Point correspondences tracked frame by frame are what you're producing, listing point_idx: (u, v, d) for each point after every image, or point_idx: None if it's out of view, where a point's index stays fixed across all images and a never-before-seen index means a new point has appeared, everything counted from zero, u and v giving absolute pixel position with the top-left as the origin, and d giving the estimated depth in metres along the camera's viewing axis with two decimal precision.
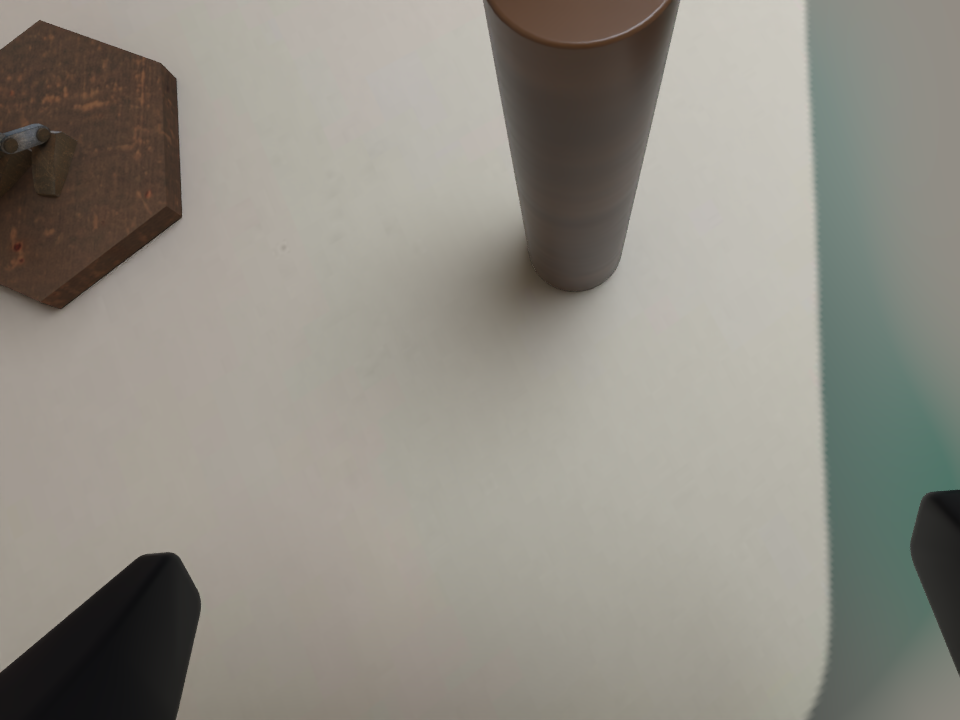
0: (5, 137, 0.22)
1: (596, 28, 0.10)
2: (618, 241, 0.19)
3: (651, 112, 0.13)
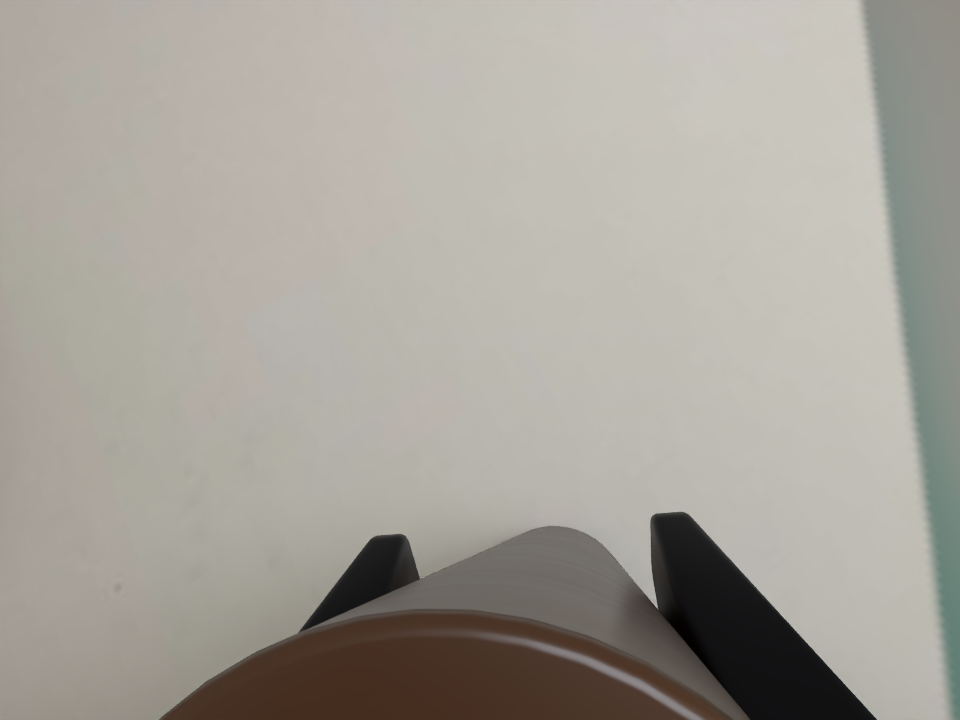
0: None
1: None
2: None
3: None
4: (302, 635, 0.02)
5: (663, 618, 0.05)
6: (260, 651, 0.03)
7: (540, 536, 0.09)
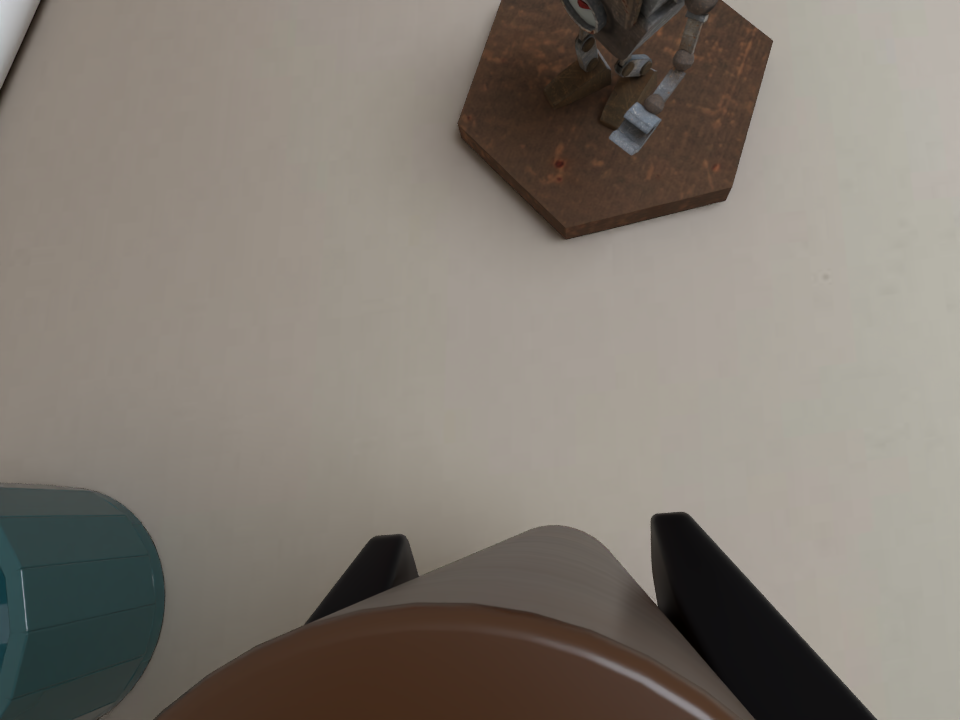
0: (630, 59, 0.21)
1: None
2: None
3: None
4: (302, 628, 0.02)
5: (663, 615, 0.05)
6: (260, 646, 0.03)
7: (540, 534, 0.09)
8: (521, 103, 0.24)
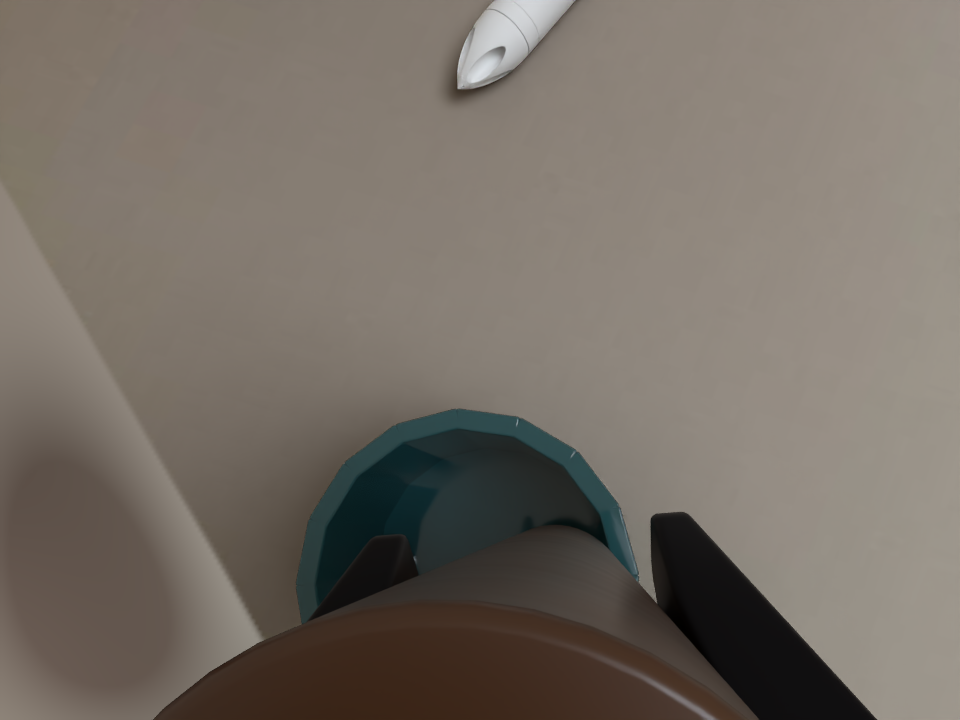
0: None
1: None
2: None
3: None
4: (305, 626, 0.02)
5: (664, 614, 0.05)
6: (263, 643, 0.03)
7: (541, 534, 0.09)
8: None
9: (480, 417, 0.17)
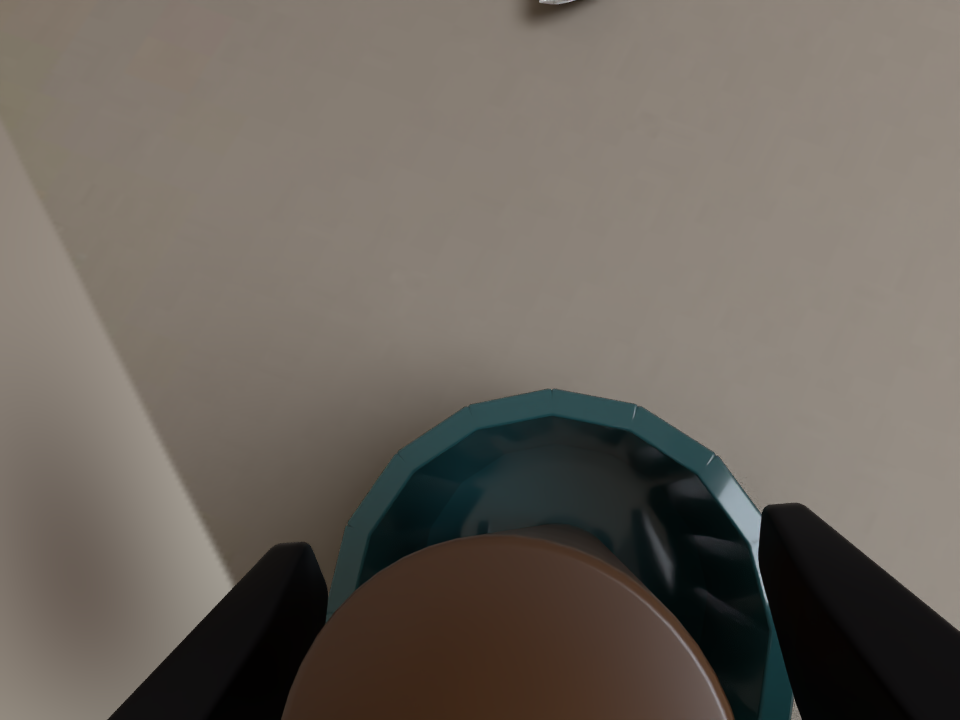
0: None
1: None
2: None
3: None
4: (427, 548, 0.05)
5: None
6: (402, 559, 0.05)
7: None
8: None
9: (584, 402, 0.12)
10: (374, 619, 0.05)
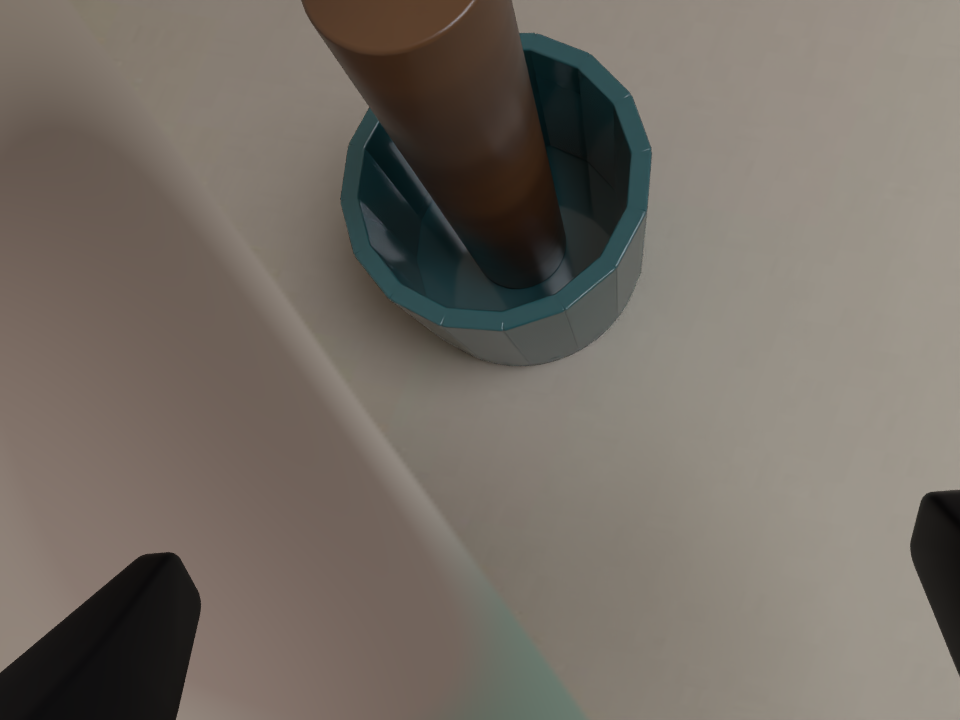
0: None
1: (414, 30, 0.10)
2: (549, 232, 0.19)
3: (522, 101, 0.13)
4: None
5: None
6: None
7: None
8: None
9: None
10: None
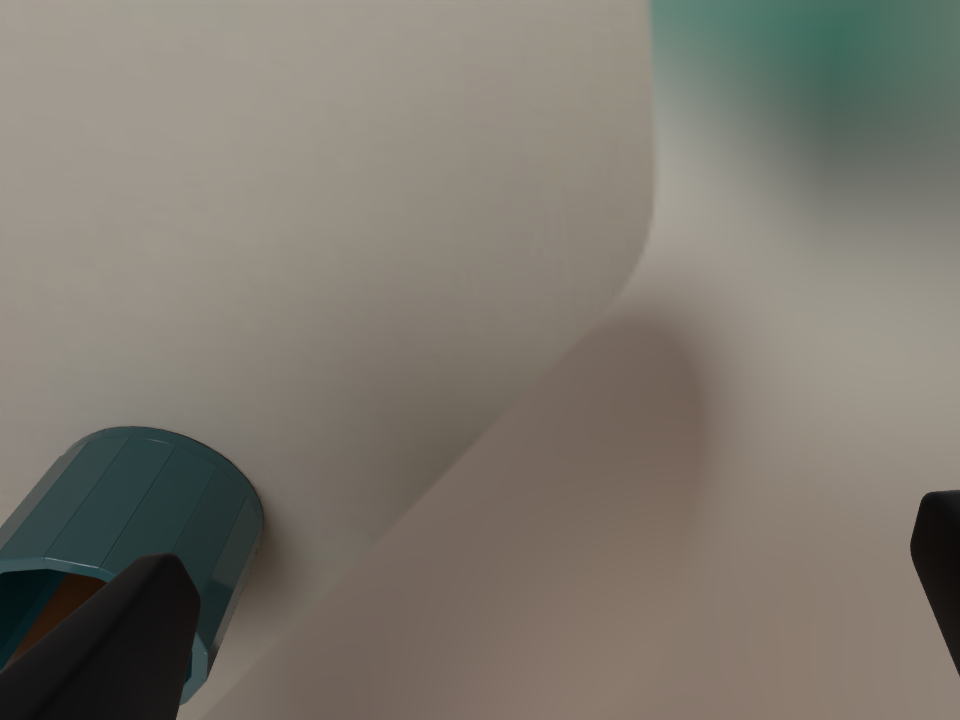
0: None
1: None
2: None
3: None
4: None
5: None
6: None
7: None
8: None
9: None
10: None
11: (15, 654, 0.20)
